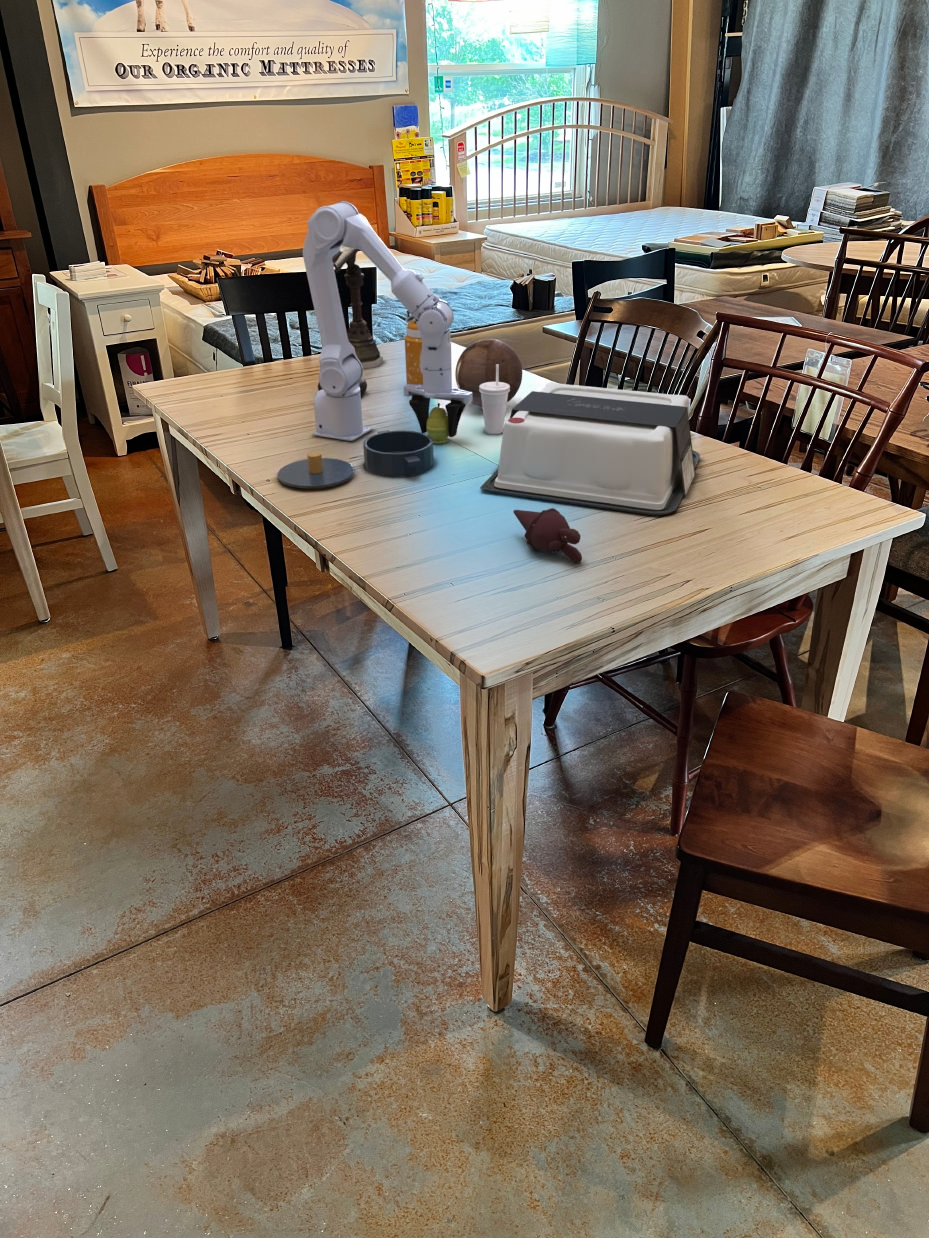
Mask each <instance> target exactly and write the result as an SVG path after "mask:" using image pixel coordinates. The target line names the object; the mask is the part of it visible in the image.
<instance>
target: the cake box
mask: <svg viewBox="0 0 929 1238" xmlns="http://www.w3.org/2000/svg"><path fill="white" fill-rule="evenodd" d="M689 402H690V399H689V396H687V395H685V394H684V395H683V394H666V393H658V392H651V391H650V392H648V391H638V390H627V389H619V388H618V389H617V388H607V387H597V386H589V385H588V386H586V385H575V384H567V383H558V382H548V383H546V384H545V387H544V388H542V389H541V390H539V391H536V390H531V391H530V393H528V394H527V395H526V396H524V398H522V400H520V401H519V402H518V403H517V404H516V405H515V406H514V407H513V408H511V411H510V416H509V418H508V419H507V420H506V421H504V427H503V432H502V436H501V445H500V450H499V451H500V453H499V459H498V466H497V469H496V471H494V473H492V474H491V476H489V478H487V480H485V482H484V483H482V485H481V486H480V487H479V489H480V490H483V491H489V492H493V493H497V494H501V495H508V496H515V497H516V496H517V497H524V498H530V499H536V500H545V501H550V502H557V503H564V504H573V505H578V506H586V507H592V508H599V509H607V510H614V511H622V512H629V513H635V514H640V515H641V514H643V515H649V516H664V515H668V514H672V513H673V512H674V511H676V510H677V509H678V506H679V505H680V502H681V500H682V499H683V498H684V499H686V496H687V494H688V492H689V489H690V487H691V485H692V483H693V480H694V478H695V476H696V468H697V465H698V462H699V461H700V458H701V454H700V453H699V452H698V451H696V450H694V449H693V442H692V434H691V433H692V432H691V428H690V427H691V426H690V417H689V416H690V403H689Z"/></svg>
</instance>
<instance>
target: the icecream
mask: <svg viewBox="0 0 929 1238" xmlns="http://www.w3.org/2000/svg"><path fill="white" fill-rule="evenodd" d="M512 512H513V515H514V516H515V517H516V519H517V520H518V522H519V523H520V525H521V526H522V527H523V530H525V533H524V538H525V540H526V545H528V546H529V547H530V548H531V549H532V550H534V551H536V550H538V551H540V552H542V553H557V552H559V551H561V553H562V554H563V555H564V556H566V558H568V560H570V561H571V562H573V563H574V564H579V563H581V562H582V560H583V556H582V553H581V552H580V551H579V549H578V548H577V547H575V546H576V545H578V544H579V543H580V540H581V534H580V533H579V532H580V531H578V530H577V529H576V528H575V529H574V528H571V527H570V525H569V523H568V521H567V519H566V517H565V516H564V515H563V514H562V513H560V511H559V510H557V509H556V508H553V507H552V508H548V509H544V510H541V511H532V510H523V509H514V510H513V511H512ZM573 545H575V546H573Z"/></svg>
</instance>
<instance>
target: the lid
mask: <svg viewBox="0 0 929 1238" xmlns="http://www.w3.org/2000/svg"><path fill="white" fill-rule="evenodd" d="M306 456H307V457H306V459H305V458H304V459H300V460H296V461H293V462H291V463H290V462H289V463H288V464H285V465H284V466H282V467H281V468H280V469H278V472H277V479H278V481H279V482H280V483H282V484H283V485H285V486H289V487H290V488H291V487H292V488H297V489H323V488H328V487H333V486H338V485H340V484H343V483H346V482H347V481H349V480H350V479H352V477H353V476H354V475H355V467H354V465H352V463H351V462H348V461H345V460H342V459H339V458H331V457H323V455H322V453H321V452H320V451H310V452H309V453H307V454H306Z"/></svg>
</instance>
